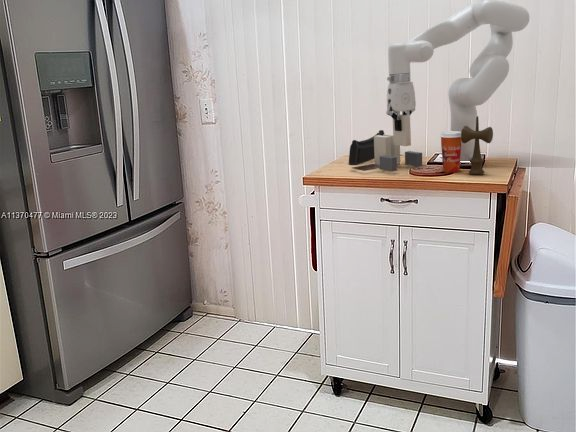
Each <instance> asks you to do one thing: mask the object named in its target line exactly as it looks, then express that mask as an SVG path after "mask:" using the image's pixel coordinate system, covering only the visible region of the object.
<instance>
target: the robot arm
mask: <svg viewBox="0 0 576 432" xmlns="http://www.w3.org/2000/svg"><path fill="white" fill-rule="evenodd" d="M529 23H530V13H529V11H528V10H527V9H526V8H525V7H524V6H522V5H518V4H514V3H511V2H507V1H503V0H476V1H472V2H471V3H470V4H468V5H467V6H465V7H463V8H462V9H460V10H458V11H457V12H456V13H454V14H453V15H451V16H449V17H448V18H446V19H445V20H442V21H440V22H439V23H437V24H435V25H434V26H432V27H429V28H428V29H426V30H425V31H423V32H420V33H419V34H418V35H416V36H414V37H413V38H411V39H410V40H408V41H406V42H396V43H390V44H389V45H388V47H387V61H388V76H387V78H386V80H387V82H388V84H387V89H386V109H387V110H386V112H385V114H386V115H387V116H390V117H391V118H392V121H393V120H394V124H395V131H402V124H401V120H400V114H402V115H410V116H411V115H412V114H413V113H414V112H415V111H416V106H417V105H416V104H417V101H416V92H415V87H414V86H415V85H414V82H413V81H411V63H412V64H413V63H425V62H428V61H430V60H431V58H432V57H433V56H434V52H435V49H437V48H440V47H443V46H446V45H451V44H453V43H455V42H458V41H459V40H461V39H462V38H463V37H465V36H467V35H468V34H470V33H471V32H472V31H475V30H476V29H477V28H479V27H481V26H483V25H489V28H490V39H489V41H488V43H487V44H486V46H485V47H484V48H483V49H482V51H481V52H480V53H479V54H478V55H477V57H476V58H475V59H474V60H473V62H472V63H471V64H470V67H469V76H470V77H460V78H457V79H455V80H454V81H452V83H451V84H450V85H449V88H448V92H447V93H448V94H447V95H448V103H449V108H450V109H449V110H450V131H459V132H461V131H462V129H463V127H464V126H468V127H469V128H471V129H472V130H474V131H476V117H477V116H478V111H477V106H481V105H483V104H485V103H486V102H487V101H489V99H490V98H492V96H493V95H494V94H495V92H496V91H497V90H498V88H499V87H500V86H501V85H502V84H503V83H504V81H506V78H507V77H508V73H509V71H510V64H509V59H507V57H508V56H509V55H510V53H511V51H512V49H513V41H514V40H513V39H514V38H513V33H515V32H516V33H517V32H520V31H522V30H524V29H526V27H528V25H529ZM396 114H397V115H396ZM474 145H475V139H472V140H470V141H468V142H467V143H463V142H462V140H461V155H460V161H470V160H471V159H472V157H473V152H474ZM481 157H482V159H483V160H484V155H481ZM468 166H470V167H471V163H469V164H461V163H460V167H468Z"/></svg>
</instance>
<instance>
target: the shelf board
mask: <svg viewBox="0 0 576 432" xmlns="http://www.w3.org/2000/svg"><path fill="white" fill-rule="evenodd" d="M400 165H401V163H400V164H397V166H400ZM351 169H353V170H357V171H363V172H367V171H371V170H377V169H378V170H379V169H380V165H376V164H375V163H370V164H364V165H358V166H354V167H353V166H352V167H351Z"/></svg>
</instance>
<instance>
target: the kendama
mask: <svg viewBox="0 0 576 432" xmlns="http://www.w3.org/2000/svg"><path fill="white" fill-rule="evenodd" d="M479 124H480V122H479V115H477V117H476V131H474V130H472V129H471V128H469V127H468V126H464V127H463V129H462V131H461V140H462V142H463V143H467V142H468V141H470V140H472V139H475V145H474V152H473V157H472V159H471V160H470V162H471V165H470V169H469V171H468V174H469V175H473V176H479V175H480V176H481V175H484V174H485V170H484V169H483V164H484V162H485V160H484V158H483V159H482V157H481V156H482V153H481V146H480V145H481V144H480V140H481V141H483V142H484V143H486V144H491V143H492V141H493V138H494V131H493V127H492V126H488V127H486V128H484V129H481V130H480V125H479Z"/></svg>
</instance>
